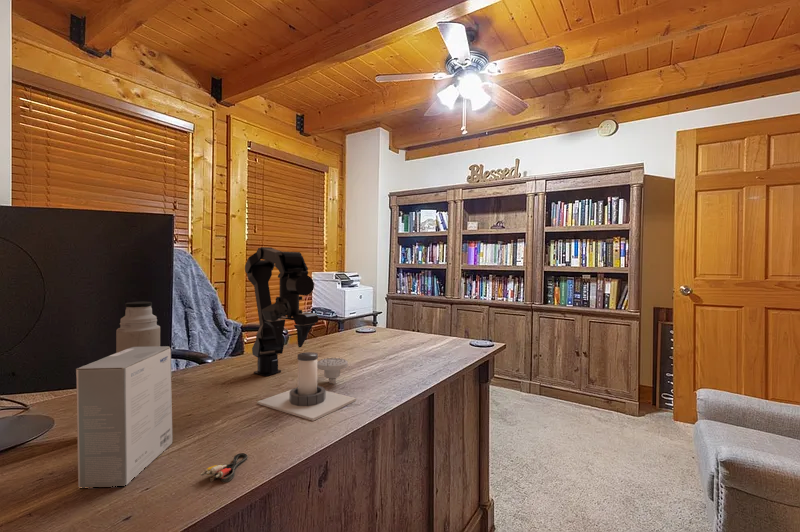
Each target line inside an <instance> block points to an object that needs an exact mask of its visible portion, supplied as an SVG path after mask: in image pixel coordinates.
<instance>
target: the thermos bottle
mask: <svg viewBox="0 0 800 532" xmlns="http://www.w3.org/2000/svg"><path fill="white" fill-rule="evenodd" d="M152 306H153V302H152V301H132V302H126V303H125V304H124V307H125V314H124V316H123V317H121V318H120V323H119V325H120V327H118V328H117V329H116V335H115V338H116V341H115V342H116V343H115V344H116V347H115V348H116V351H115V353H118V352H121V351H123V350H126V349H129V348H131V347H153V346H161V326H160V325H159V324H158V323H157V322H158V319H157V318H158V317H157V315H154V314H153V308H152Z"/></svg>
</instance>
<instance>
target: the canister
mask: <svg viewBox="0 0 800 532" xmlns="http://www.w3.org/2000/svg"><path fill="white" fill-rule="evenodd" d="M318 355H319V354H318V352H314V351H313V352H312V351H305V352H300V353H298V354H297V387H298V395H314V394H317V386H318V368H317V362H318V357H319V356H318Z"/></svg>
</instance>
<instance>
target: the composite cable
mask: <svg viewBox="0 0 800 532" xmlns="http://www.w3.org/2000/svg"><path fill="white" fill-rule="evenodd" d="M248 456H249V455H248V454H247V453H245V452H240V453H238V454H236V455H234V457H233V459H232V460H233V461H232V462H231V463H229V464H215V465H212V466H209V467H207V468H206V469H205V470H204V471H203V472H200V473H199V475H200V476H201V477H202V476H204V475H206V476H209V475H211V476H212V477H210V480H209V481H210V482H211V483H212V482H214V481H217V480H218V478H219V479H220V482H222V483H223V482H224V483H225V482H226V483H229V482H230V481H232V479H234V477H235V473H236V470H237V468H239V467H240V466H241V465H242V464H243V463H245V462H246V461H247V459H248ZM240 458H242V459H240ZM239 459H240V460H239ZM238 460H239V461H238ZM224 476H225V477H224Z"/></svg>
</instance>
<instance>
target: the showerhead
mask: <svg viewBox="0 0 800 532" xmlns="http://www.w3.org/2000/svg"><path fill="white" fill-rule="evenodd" d="M348 365H349V363H348V360H346V359H345V358H340V357H327V358H323V359H319V360H317V370H320V371H324V372H323V373H324V377H325V378H327V379H328V383H329V384H336V382H337V381H336V380H337V378H339V377H340V376H341V370H344V369H347V368H348Z"/></svg>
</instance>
